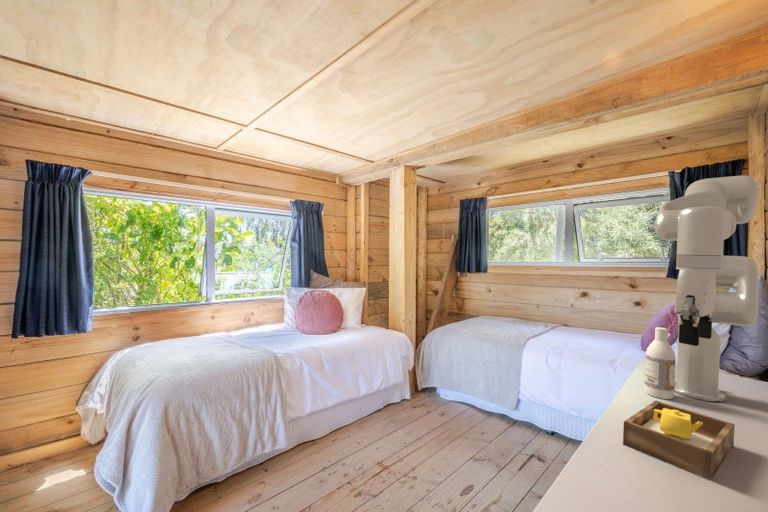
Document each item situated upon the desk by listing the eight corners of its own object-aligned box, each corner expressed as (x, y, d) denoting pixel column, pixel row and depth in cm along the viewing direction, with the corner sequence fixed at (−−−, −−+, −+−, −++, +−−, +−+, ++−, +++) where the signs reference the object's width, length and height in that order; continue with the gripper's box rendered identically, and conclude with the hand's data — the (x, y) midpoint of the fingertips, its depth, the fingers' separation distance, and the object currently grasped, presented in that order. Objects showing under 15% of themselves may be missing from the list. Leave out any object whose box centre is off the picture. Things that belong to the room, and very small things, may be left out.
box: (654, 420, 86) (655, 400, 86) (733, 447, 75) (734, 424, 75) (622, 444, 75) (623, 421, 74) (710, 480, 63) (711, 453, 63)
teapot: (701, 436, 73) (702, 411, 73) (702, 446, 69) (703, 421, 69) (654, 422, 79) (655, 400, 79) (651, 431, 74) (652, 408, 74)
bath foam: (668, 401, 98) (671, 331, 98) (640, 393, 104) (643, 327, 103) (677, 396, 102) (680, 329, 101) (649, 388, 107) (652, 324, 107)
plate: (651, 427, 81) (652, 418, 81) (715, 449, 72) (716, 440, 72) (637, 438, 75) (637, 429, 75) (704, 464, 66) (705, 454, 66)
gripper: (688, 261, 84) (685, 331, 84) (663, 263, 74) (660, 342, 74) (731, 263, 77) (728, 338, 78) (711, 265, 67) (707, 352, 68)
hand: (695, 340), depth 76 cm, fingers open, 9 cm apart
